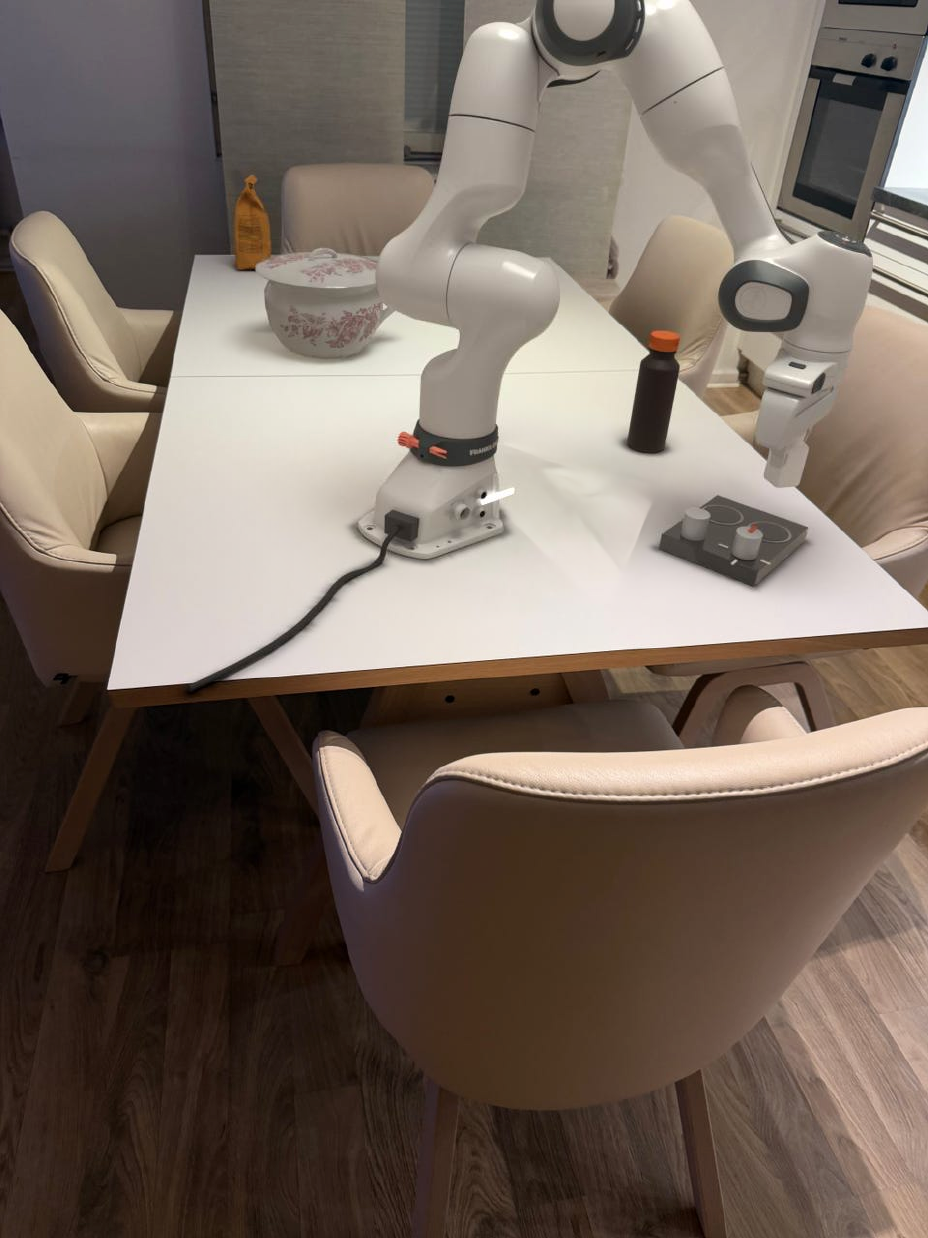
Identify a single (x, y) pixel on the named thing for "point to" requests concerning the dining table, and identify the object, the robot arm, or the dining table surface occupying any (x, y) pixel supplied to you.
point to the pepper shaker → (789, 465)
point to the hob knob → (747, 543)
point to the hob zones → (726, 523)
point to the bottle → (654, 394)
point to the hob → (720, 541)
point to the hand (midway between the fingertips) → (785, 459)
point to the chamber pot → (322, 301)
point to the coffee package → (251, 229)
